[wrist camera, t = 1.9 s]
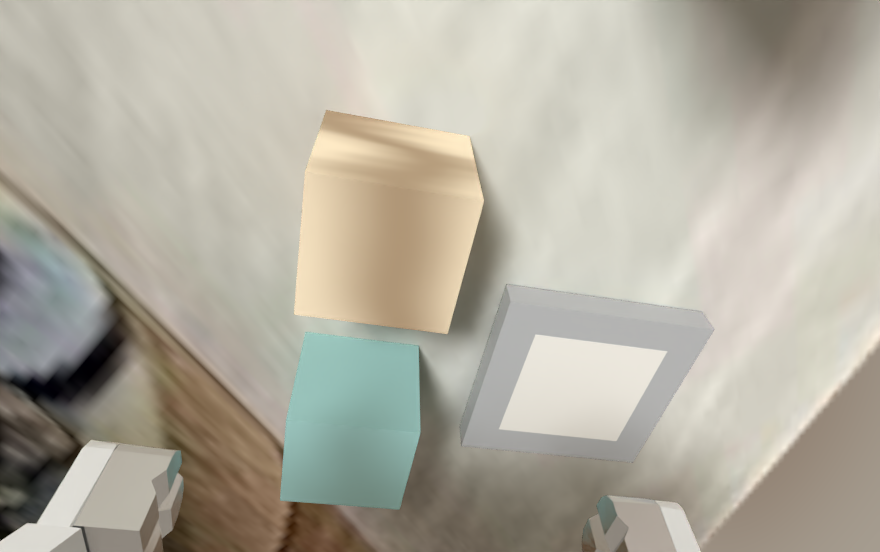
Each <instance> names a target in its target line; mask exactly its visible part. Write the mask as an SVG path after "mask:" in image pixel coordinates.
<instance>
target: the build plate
mask: <svg viewBox="0 0 880 552" xmlns="http://www.w3.org/2000/svg"><path fill="white" fill-rule="evenodd" d="M713 331H714V328H713V327H712V325H711V324H710V322H709V321H708V319H707V318H706V316H705V315H704V313H703V312H700V311H693V310H686V309H679V308H672V307H664V306H657V305H650V304H643V303H636V302H629V301H622V300H615V299H608V298H601V297H594V296H586V295H579V294H572V293H565V292H558V291H551V290H544V289H537V288H530V287H523V286H516V285H508V284H506V287H505V290H504V293H503V296H502V299H501V302H500V305H499V308H498V311H497V314H496V317H495V320H494V324H493V327H492V330H491V333H490V336H489V339H488V342H487V345H486V348H485V351H484V354H483V357H482V360H481V363H480V366H479V369H478V372H477V375H476V378H475V381H474V384H473V387H472V390H471V393H470V396H469V399H468V402H467V406H466V409H465V412H464V415H463V418H462V421H461V424H460V438H461V446H464V447H475V448H485V449H496V450H506V451H516V452H527V453H537V454H548V455H558V456H568V457H579V458H589V459H600V460H610V461H621V462H631V463H633V462H634V460H635V458H636V457H637V455H638V453H639V452H640V450H641V449H642V447H643V445H644V444H645V442H646V440H647V439H648V437H649V435H650V434H651V432H652V431H653V429H654V427H655V426H656V424H657V422H658V421H659V419H660V418H661V416H662V414H663V413H664V411H665V409H666V408H667V406H668V405H669V403H670V401H671V400H672V398H673V396H674V395H675V393H676V391H677V390H678V388H679V387H680V385H681V383H682V382H683V380H684V378H685V377H686V375H687V374H688V372H689V370H690V369H691V367H692V365H693V364H694V362H695V361H696V359H697V357H698V356H699V354H700V352H701V351H702V349H703V347H704V346H705V344H706V343H707V341H708V339H709V338H710V336H711V334H712V333H713Z"/></svg>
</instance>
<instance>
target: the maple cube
mask: <svg viewBox="0 0 880 552" xmlns="http://www.w3.org/2000/svg"><path fill="white" fill-rule="evenodd" d="M483 204H484V198H483V194H482V189H481V185H480V181H479V176H478V172H477V168H476V163H475V159H474V154H473V150H472V146H471V141H470V137H469V136H466V135H461V134H455V133H450V132H444V131H439V130H433V129H428V128H422V127H417V126H411V125H406V124H400V123H394V122H389V121H383V120H378V119H372V118H367V117H361V116H356V115H350V114H345V113H339V112H334V111H328V110H326V113H325V115H324V118H323V121H322V124H321V127H320V130H319V133H318V136H317V139H316V141H315V144H314V147H313V150H312V153H311V156H310V159H309V162H308V165H307V167H306V170H305V179H304V191H303V204H302V217H301V230H300V243H299V255H298V268H297V281H296V294H295V307H294V315H302V316H310V317H318V318H326V319H333V320H341V321H349V322H357V323H365V324H373V325H381V326H388V327H396V328H404V329H412V330H420V331H428V332H435V333H443V334H448V330H449V327H450V323H451V320H452V316H453V312H454V309H455V305H456V301H457V298H458V294H459V291H460V287H461V283H462V280H463V276H464V272H465V269H466V265H467V262H468V258H469V254H470V251H471V247H472V244H473V240H474V236H475V233H476V229H477V225H478V222H479V218H480V215H481V211H482V207H483Z"/></svg>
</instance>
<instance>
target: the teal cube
mask: <svg viewBox="0 0 880 552" xmlns="http://www.w3.org/2000/svg"><path fill="white" fill-rule="evenodd" d="M420 433H421V432H420V387H419V346H417V345H409V344H401V343H392V342H384V341H376V340H368V339H360V338H351V337H343V336H335V335H327V334H318V333H310V332H306V333H305V337H304V342H303V346H302V351H301V355H300V360H299V364H298V369H297V373H296V378H295V382H294V387H293V391H292V396H291V400H290V405H289V409H288V414H287V419H286V429H285V442H284V455H283V469H282V482H281V495H280V500H281V501H294V502H307V503H320V504H333V505H346V506H359V507H372V508H385V509H397V510H399V509H400V506H401V502H402V499H403V495H404V491H405V488H406V484H407V480H408V477H409V473H410V469H411V466H412V462H413V459H414V455H415V451H416V448H417V444H418V440H419V437H420Z"/></svg>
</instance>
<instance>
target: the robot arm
mask: <svg viewBox="0 0 880 552" xmlns="http://www.w3.org/2000/svg"><path fill="white" fill-rule="evenodd" d="M181 463H182V459H181V451H178V450H170V449H162V448H154V447H146V446H138V445H130V444H122V443H115V442H106V441H97V440H90V441H89V442H88V443H87V444H86V445H85V446H84V447H83V448H82V449H81V451H80V453H79V454H78V456H77V458H76V459H75V461H74V463H73V464H72V466H71V468H70V469H69V471H68V472H67V474H66V476H65V477H64V479H63V481H62V482H61V484H60V486H59V487H58V489H57V491H56V492H55V494H54V496H53V497H52V499H51V500H50V502H49V504H48V505H47V507H46V509H45V510H44V512H43V514H42V515H41V517H40V519H39V520H38V522H37V523H36V524H35V523H26V524H25V525H23V526H22V527H20V528H19V529H17V530H16V531H15V532H13V533H12V534H10V535H9V536H7V537H6V538H4V539H3V540H1V541H0V552H163V545H162V538H163V537H164V536H165V535H167V534H168V533H169V532H170V531H172V530H173V527H174V525H175V522H176V519H177V517H178V514H179V510H180V506H181V502H182V497H183V487H184V485H183V477H182V476H181V475H180V474H179V473H178V471H179V468H180V466H181ZM597 509H598V514H596V515H595V516H593V517H591V518H589V519H588V521H587V523H586V525H585V527H584V530H583V537H582V551H583V552H701V550H700V548H699V545H698V543H697V541H696V538H695V536H694V534H693V531H692V529H691V527H690V524H689V522H688V519H687V517H686V515H685V512H684V510H683V508H682V507H681V506H680V505H679V504H678V503H676V502H668V501H656V500H651V499H644V498H633V497H622V496H611V495H606V496H604V497H602V498H601V499H600V500H599V502H598V504H597Z"/></svg>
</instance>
